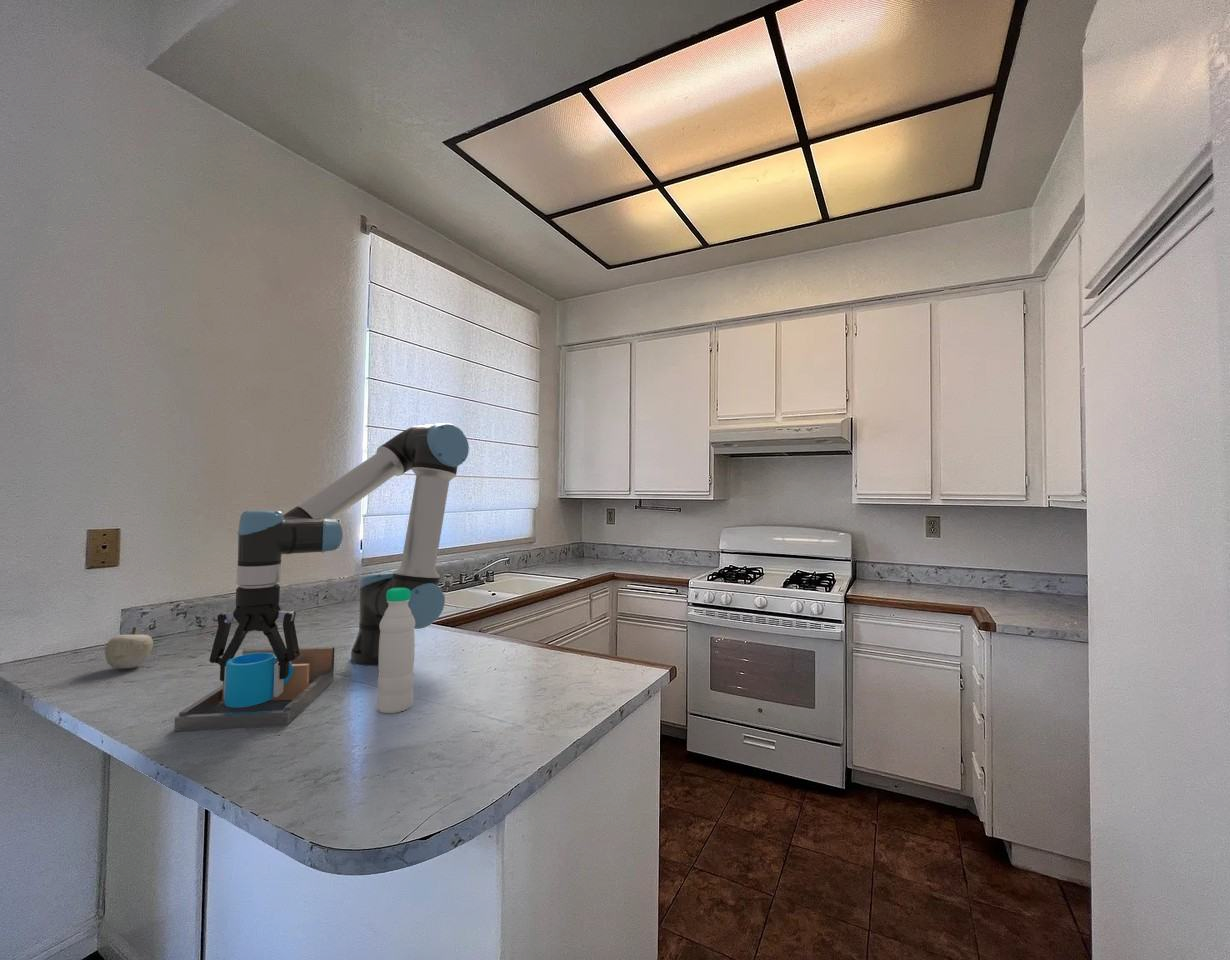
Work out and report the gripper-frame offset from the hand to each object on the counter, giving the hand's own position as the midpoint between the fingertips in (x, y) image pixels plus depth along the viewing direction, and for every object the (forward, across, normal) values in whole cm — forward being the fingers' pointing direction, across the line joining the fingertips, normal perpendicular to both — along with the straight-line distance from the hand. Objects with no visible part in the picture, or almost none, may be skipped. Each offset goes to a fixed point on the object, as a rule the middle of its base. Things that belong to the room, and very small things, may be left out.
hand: (254, 695), depth 107 cm
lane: (+3, 0, -4) cm, 5 cm away
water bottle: (+3, -28, +2) cm, 28 cm away
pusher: (+3, 0, -7) cm, 7 cm away
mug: (0, -1, 0) cm, 1 cm away
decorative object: (+3, +43, -31) cm, 53 cm away
